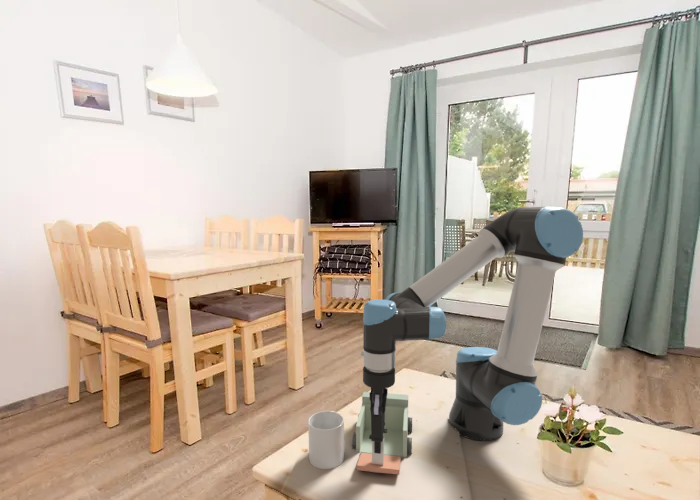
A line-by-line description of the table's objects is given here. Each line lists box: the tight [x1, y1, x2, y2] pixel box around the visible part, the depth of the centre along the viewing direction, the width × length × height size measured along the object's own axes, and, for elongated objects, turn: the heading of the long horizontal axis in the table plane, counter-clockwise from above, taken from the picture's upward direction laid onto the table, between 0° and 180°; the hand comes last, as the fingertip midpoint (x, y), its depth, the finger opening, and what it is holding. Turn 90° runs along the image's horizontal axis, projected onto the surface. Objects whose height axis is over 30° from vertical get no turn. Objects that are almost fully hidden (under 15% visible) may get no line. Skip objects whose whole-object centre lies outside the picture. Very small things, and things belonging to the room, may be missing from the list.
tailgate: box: [356, 452, 403, 475], centre depth 96 cm, size 10×2×9 cm
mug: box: [307, 410, 345, 470], centre depth 100 cm, size 12×9×11 cm
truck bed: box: [351, 391, 413, 458], centre depth 107 cm, size 15×15×10 cm
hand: (378, 461), depth 94 cm, fingers closed
